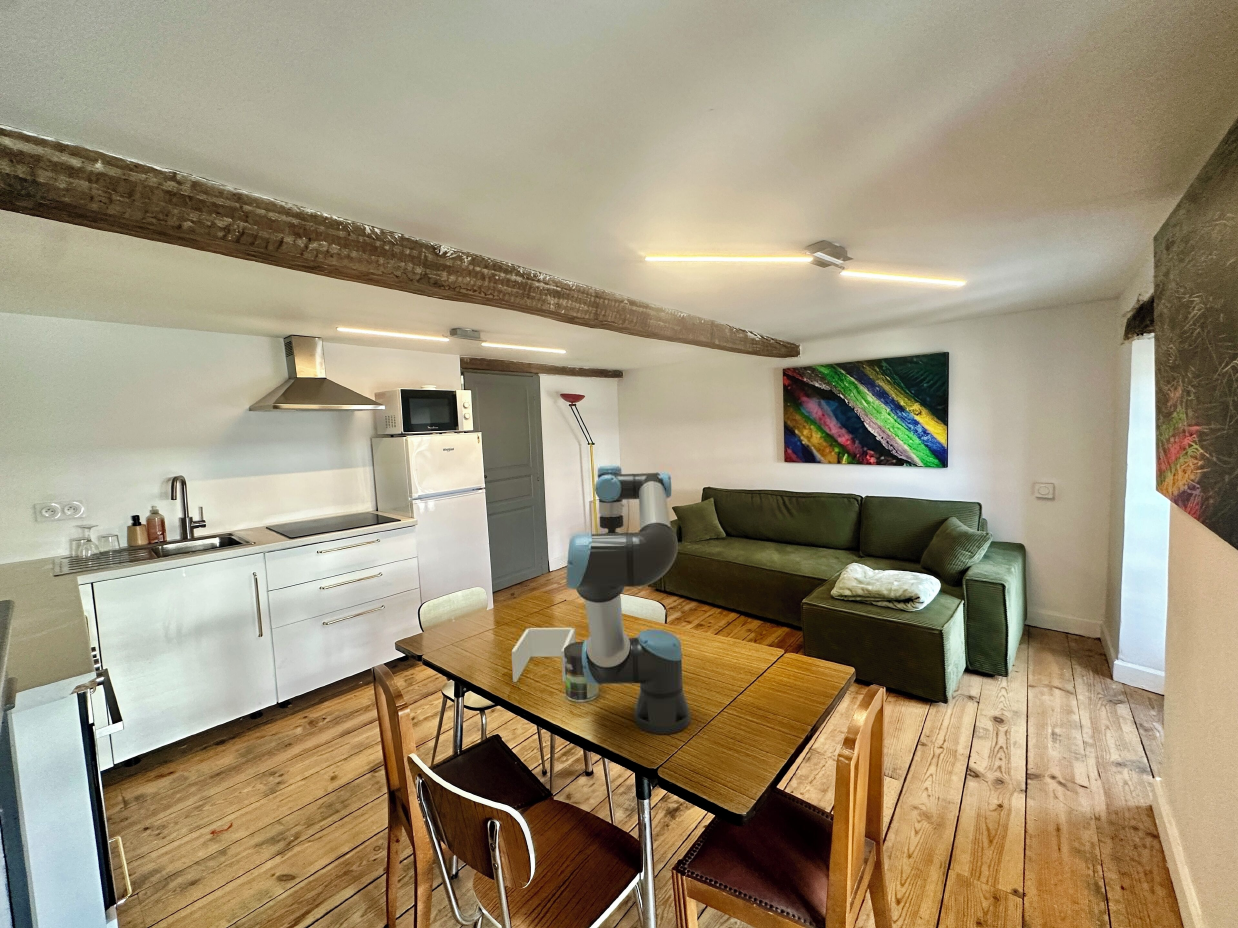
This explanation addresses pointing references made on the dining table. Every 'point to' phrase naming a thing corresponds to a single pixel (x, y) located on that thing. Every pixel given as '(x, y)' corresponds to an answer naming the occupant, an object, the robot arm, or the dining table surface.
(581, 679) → the coffee can
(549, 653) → the white u-shaped bracket
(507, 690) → the dining table surface
